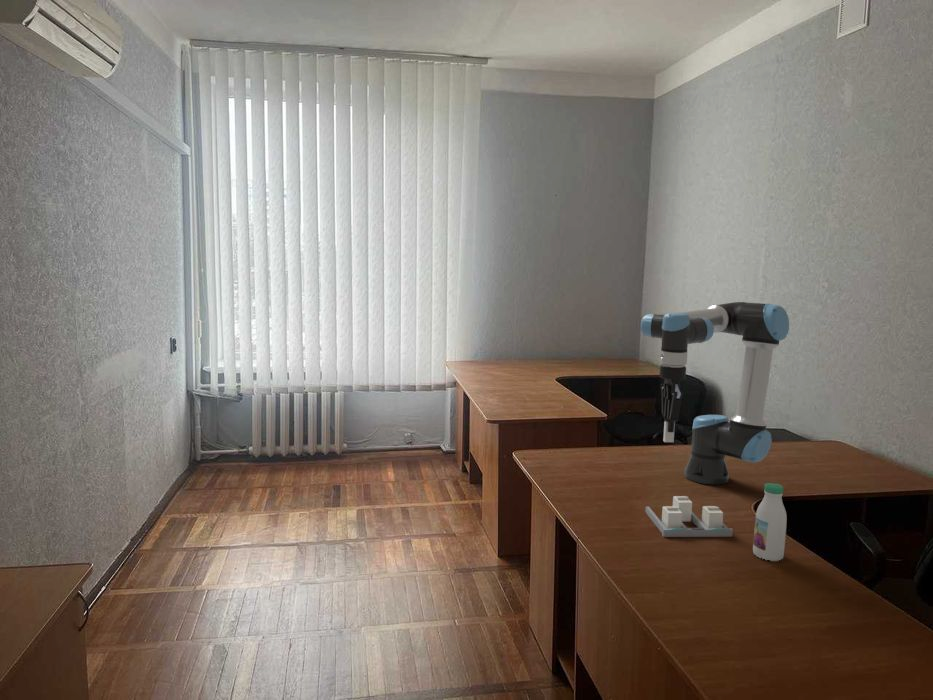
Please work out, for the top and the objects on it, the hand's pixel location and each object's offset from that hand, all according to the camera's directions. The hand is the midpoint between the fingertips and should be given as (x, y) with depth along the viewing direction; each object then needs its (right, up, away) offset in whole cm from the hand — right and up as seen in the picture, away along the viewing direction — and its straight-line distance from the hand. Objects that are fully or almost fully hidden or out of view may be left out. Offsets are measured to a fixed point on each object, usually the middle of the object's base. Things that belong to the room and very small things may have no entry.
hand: (668, 441), depth 203 cm
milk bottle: (+21, -28, -21) cm, 41 cm away
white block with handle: (-2, -24, -8) cm, 26 cm away
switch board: (+4, -25, -4) cm, 26 cm away
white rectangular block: (+10, -25, -8) cm, 28 cm away
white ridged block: (+4, -23, 0) cm, 24 cm away
